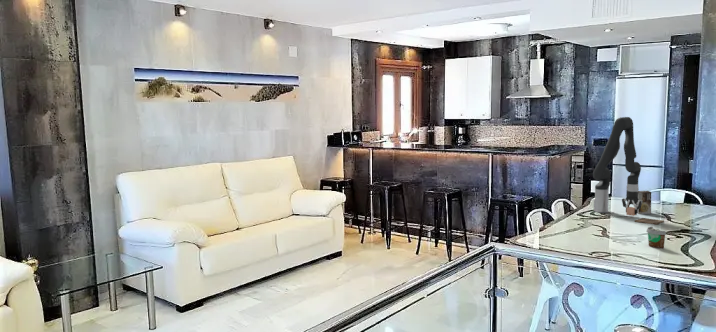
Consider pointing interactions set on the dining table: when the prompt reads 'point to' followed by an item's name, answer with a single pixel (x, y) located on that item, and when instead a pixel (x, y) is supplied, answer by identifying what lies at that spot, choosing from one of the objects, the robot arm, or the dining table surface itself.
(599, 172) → the robot arm
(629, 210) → the terracotta cube
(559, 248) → the dining table surface
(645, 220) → the walnut board
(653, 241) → the food container
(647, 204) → the coffee box
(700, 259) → the dining table surface
